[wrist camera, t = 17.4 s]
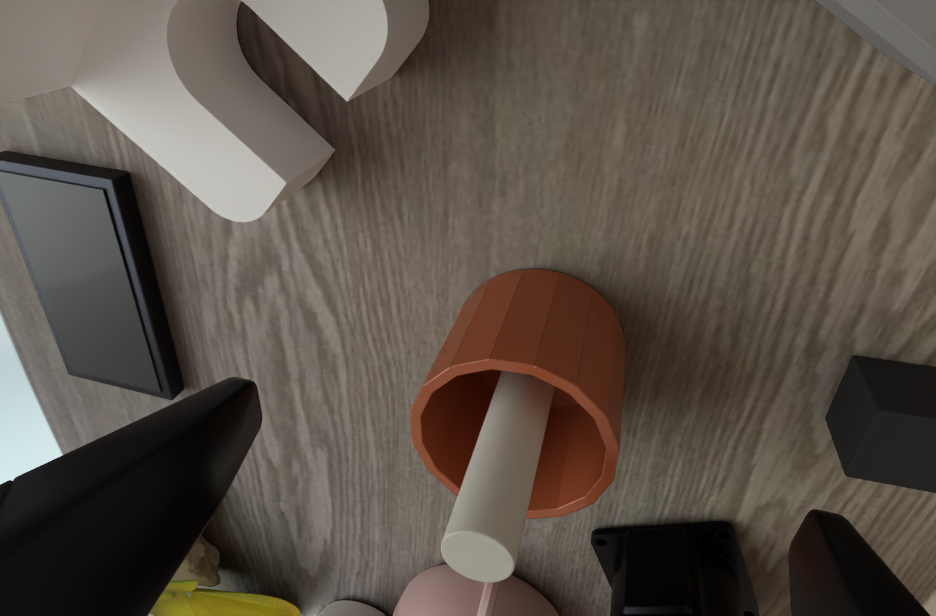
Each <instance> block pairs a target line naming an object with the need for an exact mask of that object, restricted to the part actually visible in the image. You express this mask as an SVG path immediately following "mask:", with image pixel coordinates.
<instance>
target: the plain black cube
mask: <svg viewBox="0 0 936 616" xmlns="http://www.w3.org/2000/svg"><path fill="white" fill-rule="evenodd" d="M825 419H826V422H827V425H828V428H829V431H830V433H831V436H832V439H833V442H834V445H835V448H836V450H837V453H838V456H839V459H840V462H841V465H842V468H843V470H844V473H845V476H847V477H853V478H858V479H864V480H869V481H874V482H880V483H885V484H891V485H896V486H901V487H907V488H912V489H917V490H923V491H928V492H934V493H936V367H929V366H922V365H915V364H909V363H902V362H895V361H888V360H881V359H875V358H868V357H861V356H852V358H851V360H850V363H849V365H848V367H847V369H846V372H845V374H844V376H843V379H842V381H841V383H840V385H839V388H838V390H837V392H836V394H835V397H834V399H833V401H832V404H831V406H830V408H829V410H828V413H827V415H826V417H825Z"/></svg>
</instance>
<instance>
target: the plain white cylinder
mask: <svg viewBox="0 0 936 616" xmlns="http://www.w3.org/2000/svg"><path fill="white" fill-rule="evenodd" d="M554 389H555V386H553V385H551V384H549V383H547V382H545V381H543V380H541V379H539V378H537V377H535V376H533V375H528V374H521V373H515V372H508V371H502V372H501V375H500V377H499V380H498V383H497V386H496V389H495V392H494V394H493V397H492V400H491V403H490V406H489V409H488V412H487V414H486V417H485V420H484V423H483V426H482V429H481V431H480V434H479V437H478V440H477V443H476V446H475V449H474V451H473V454H472V457H471V460H470V463H469V466H468V468H467V471H466V474H465V477H464V480H463V483H462V486H461V488H460V491H459V494H458V497H457V500H456V503H455V505H454V508H453V511H452V514H451V517H450V520H449V523H448V525H447V528H446V531H445V534H444V537H443V540H442V543H441V553H442V556H443V558H444V560H445V561H446V563H447V564H448V565H449V566H450V567H451V568H452V569H454V570H455V571H456V572H458V573H459V574H461V575H463V576H465V577H467V578H470V579H473V580H476V581H481V582H498V581H502V580H504V579H506V578H508V577H509V576H510V575H511V574H512V573H513V571H514V569H515V565H516V560H517V556H518V551H519V547H520V542H521V538H522V533H523V529H524V524H525V520H526V515H527V511H528V506H529V501H530V497H531V492H532V488H533V483H534V479H535V474H536V470H537V465H538V461H539V456H540V452H541V447H542V443H543V438H544V434H545V429H546V425H547V420H548V416H549V411H550V407H551V402H552V398H553V393H554Z"/></svg>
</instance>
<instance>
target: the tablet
mask: <svg viewBox="0 0 936 616" xmlns="http://www.w3.org/2000/svg"><path fill="white" fill-rule="evenodd" d="M0 198H1V200H2V203H3V206H4V208H5V211H6V213H7V216H8V218H9V221H10V224H11V226H12V229H13V231H14V234H15V237H16V239H17V242H18V244H19V247H20V249H21V252H22V255H23V257H24V260H25V262H26V265H27V268H28V270H29V273H30V275H31V278H32V280H33V283H34V286H35V288H36V291H37V293H38V296H39V299H40V301H41V304H42V306H43V309H44V311H45V314H46V317H47V319H48V322H49V324H50V327H51V330H52V332H53V335H54V337H55V340H56V342H57V345H58V348H59V350H60V353H61V355H62V358H63V361H64V363H65V366H66V368H67V371H68V373H69V375H73V376H77V377H81V378H85V379H89V380H93V381H97V382H101V383H105V384H109V385H113V386H117V387H121V388H125V389H129V390H133V391H137V392H141V393H145V394H149V395H153V396H157V397H161V398H165V399H169V400H173V399H174V398H175V397H176V396H177V395H178V394H180V393H181V392H182V391H183V390H184V386H183V382H182V378H181V374H180V370H179V366H178V362H177V358H176V354H175V350H174V347H173V343H172V339H171V335H170V331H169V327H168V323H167V319H166V315H165V312H164V308H163V304H162V300H161V296H160V292H159V288H158V284H157V280H156V276H155V273H154V269H153V265H152V261H151V257H150V253H149V249H148V245H147V241H146V238H145V234H144V230H143V226H142V222H141V218H140V214H139V210H138V206H137V203H136V199H135V195H134V191H133V187H132V183H131V179H130V175H129V173H128V172H125V171H120V170H114V169H108V168H102V167H96V166H90V165H84V164H79V163H73V162H67V161H61V160H55V159H49V158H44V157H38V156H32V155H26V154H20V153H14V152H9V151H3V152H0Z"/></svg>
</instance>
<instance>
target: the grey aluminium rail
mask: <svg viewBox="0 0 936 616" xmlns="http://www.w3.org/2000/svg"><path fill="white" fill-rule="evenodd" d="M815 1H816V2H817V3H819V4H820V5H821V6H823V7H824V8H825V9H826V10H828V11H829V12H830V13H832V14H833V15H834V16H835V17H837V18H838V19H839V20H840V21H842V22H843V23H844V24H846V25H847V26H848V27H849V28H851V29H852V30H853V31H855V32H856V33H857V34H858V35H860V36H861V37H862V38H863V39H865V40H866V41H867V42H869V43H870V44H871V45H872V46H874V47H875V48H876V49H877V50H879V51H880V52H881V53H883V54H884V55H886V56H887V57H889V58H891V59H892V60H894V61H896V62H897V63H899V64H901V65H902V66H904V67H906V68H907V69H909V70H911V71H912V72H914V73H916V74H917V75H919V76H920V77H922V78H924V79H925V80H927V81H929V82H930V83H932V84H934V85H935V86H936V0H815Z"/></svg>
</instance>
